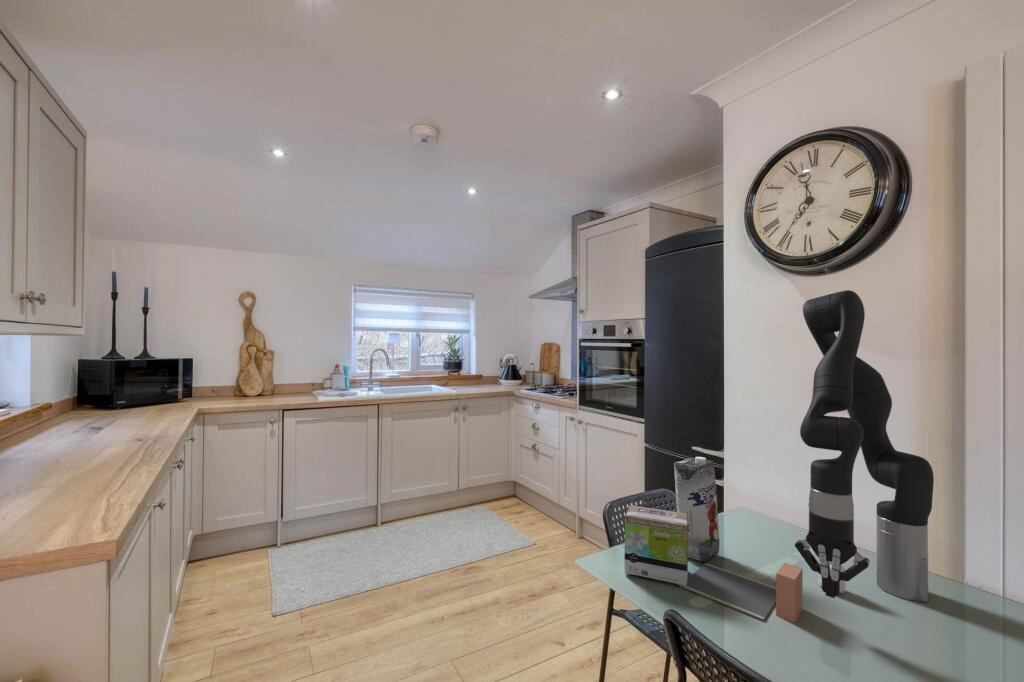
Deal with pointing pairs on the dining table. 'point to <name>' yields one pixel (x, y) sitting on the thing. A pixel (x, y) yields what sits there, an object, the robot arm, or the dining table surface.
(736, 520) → the dining table surface
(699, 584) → the tray
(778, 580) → the brick
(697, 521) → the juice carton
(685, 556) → the tea box
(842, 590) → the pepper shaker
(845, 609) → the dining table surface
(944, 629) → the dining table surface
